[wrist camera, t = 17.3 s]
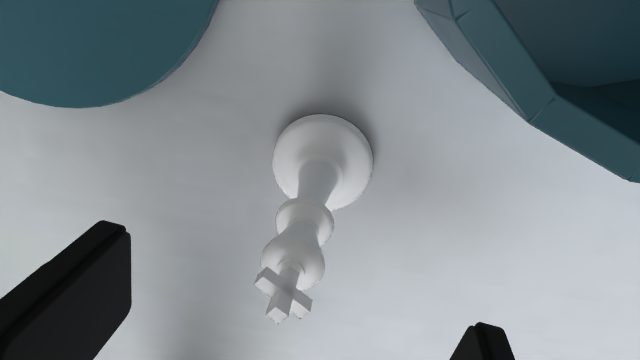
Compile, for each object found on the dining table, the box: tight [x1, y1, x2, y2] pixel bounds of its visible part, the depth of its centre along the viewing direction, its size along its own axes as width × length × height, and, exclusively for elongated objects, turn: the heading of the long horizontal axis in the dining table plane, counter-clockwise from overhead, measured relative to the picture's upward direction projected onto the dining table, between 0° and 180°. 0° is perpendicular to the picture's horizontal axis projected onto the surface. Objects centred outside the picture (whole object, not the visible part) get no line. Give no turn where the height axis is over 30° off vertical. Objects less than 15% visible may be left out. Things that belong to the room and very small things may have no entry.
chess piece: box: [254, 114, 373, 324], centre depth 14 cm, size 5×5×10 cm
